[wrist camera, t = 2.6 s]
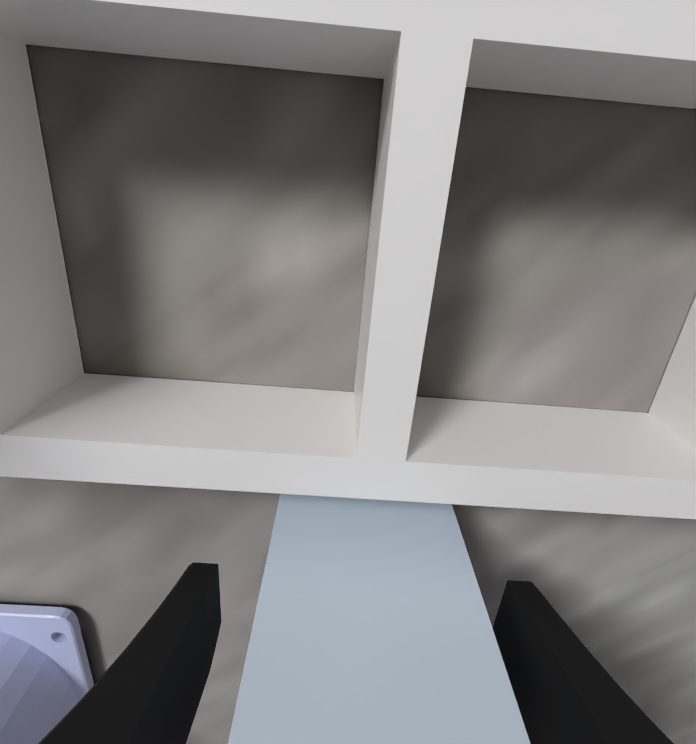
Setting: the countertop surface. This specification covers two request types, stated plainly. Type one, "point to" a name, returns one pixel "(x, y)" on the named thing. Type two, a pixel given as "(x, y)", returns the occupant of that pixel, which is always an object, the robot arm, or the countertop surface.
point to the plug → (372, 632)
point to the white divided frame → (382, 276)
